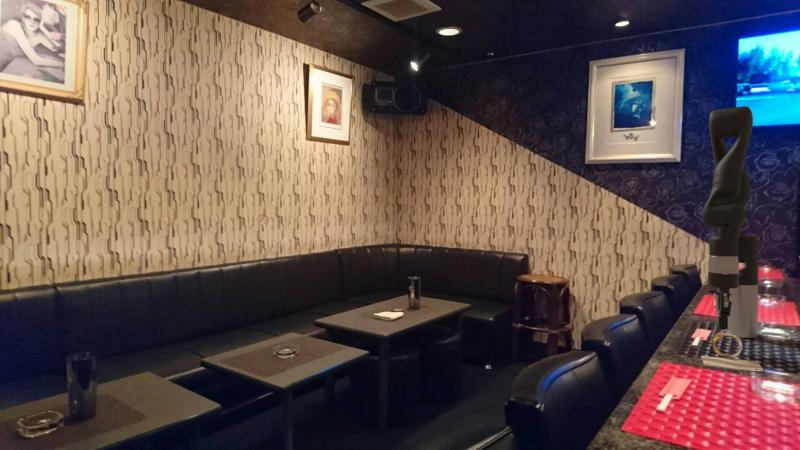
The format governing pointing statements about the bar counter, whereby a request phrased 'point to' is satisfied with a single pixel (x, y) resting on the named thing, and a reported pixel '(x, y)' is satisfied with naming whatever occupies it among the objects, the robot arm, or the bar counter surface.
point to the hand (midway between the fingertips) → (722, 329)
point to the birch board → (730, 363)
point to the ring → (727, 333)
